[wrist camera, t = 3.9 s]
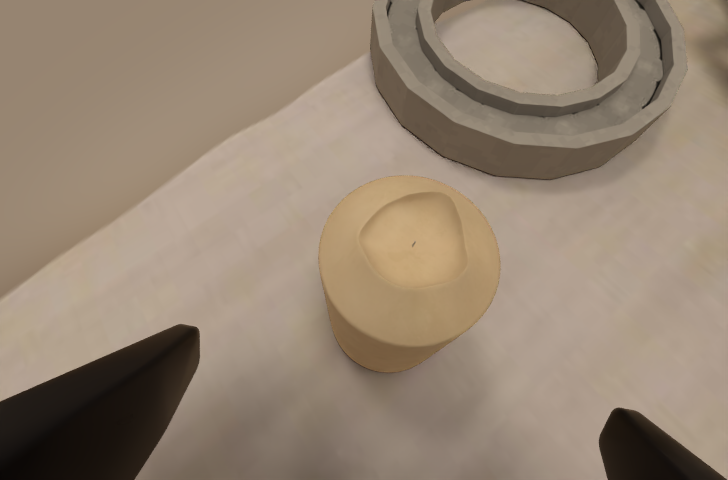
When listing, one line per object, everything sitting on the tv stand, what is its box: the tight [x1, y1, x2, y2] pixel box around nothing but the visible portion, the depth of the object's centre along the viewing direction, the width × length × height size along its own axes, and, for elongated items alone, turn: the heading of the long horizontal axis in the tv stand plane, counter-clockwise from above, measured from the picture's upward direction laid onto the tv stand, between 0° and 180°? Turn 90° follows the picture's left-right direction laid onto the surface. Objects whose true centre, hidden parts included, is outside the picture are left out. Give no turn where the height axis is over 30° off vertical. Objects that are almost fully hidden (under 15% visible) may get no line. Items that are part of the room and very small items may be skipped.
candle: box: [318, 176, 500, 373], centre depth 16 cm, size 6×6×10 cm
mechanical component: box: [370, 0, 688, 179], centre depth 26 cm, size 18×18×3 cm
